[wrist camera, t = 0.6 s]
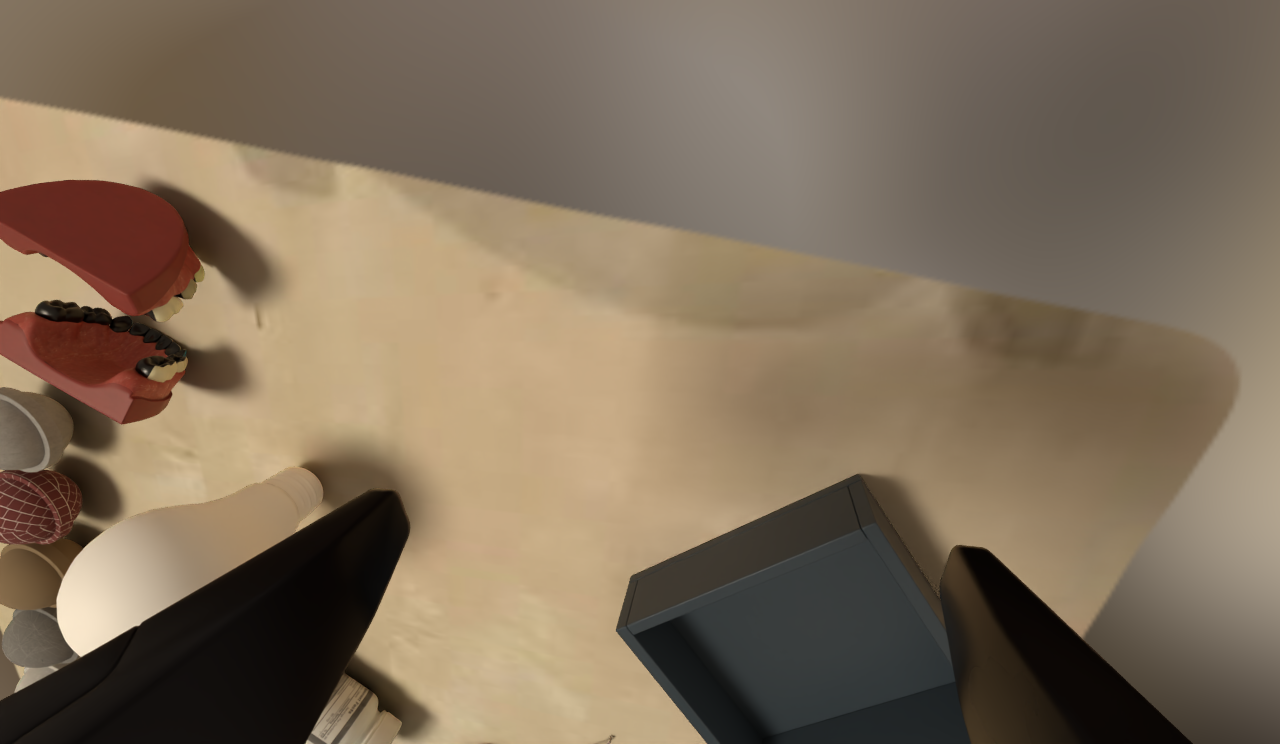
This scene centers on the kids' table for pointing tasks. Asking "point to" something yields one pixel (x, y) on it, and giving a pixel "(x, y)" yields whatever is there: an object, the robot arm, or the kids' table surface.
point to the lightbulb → (175, 555)
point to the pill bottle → (354, 718)
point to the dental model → (102, 292)
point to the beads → (35, 530)
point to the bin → (800, 631)
